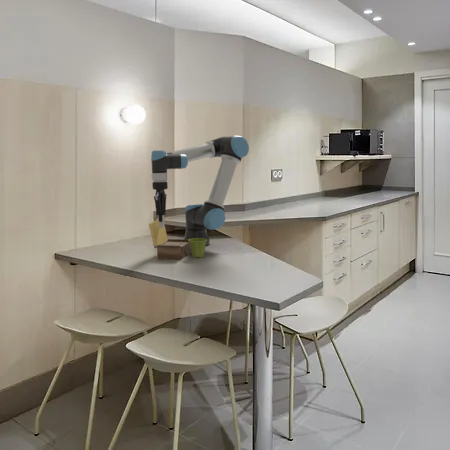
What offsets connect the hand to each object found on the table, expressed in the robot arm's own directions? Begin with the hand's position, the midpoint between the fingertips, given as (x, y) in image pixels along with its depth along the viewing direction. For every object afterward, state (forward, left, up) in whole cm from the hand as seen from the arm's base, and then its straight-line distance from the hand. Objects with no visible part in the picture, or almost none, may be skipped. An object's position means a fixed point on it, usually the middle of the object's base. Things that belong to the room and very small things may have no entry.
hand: (161, 227), depth 254 cm
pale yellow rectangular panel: (0, 0, -8) cm, 8 cm away
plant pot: (-13, +14, -15) cm, 24 cm away
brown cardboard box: (-4, +5, -14) cm, 16 cm away
